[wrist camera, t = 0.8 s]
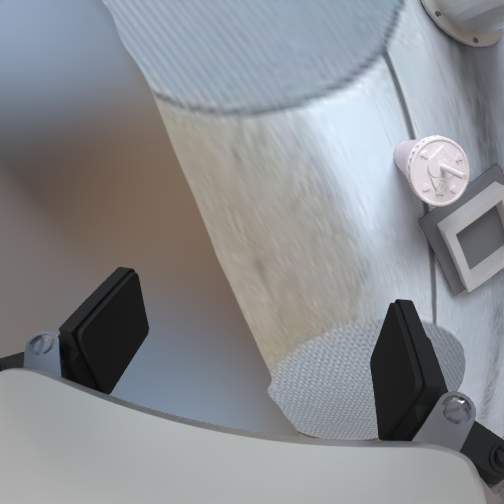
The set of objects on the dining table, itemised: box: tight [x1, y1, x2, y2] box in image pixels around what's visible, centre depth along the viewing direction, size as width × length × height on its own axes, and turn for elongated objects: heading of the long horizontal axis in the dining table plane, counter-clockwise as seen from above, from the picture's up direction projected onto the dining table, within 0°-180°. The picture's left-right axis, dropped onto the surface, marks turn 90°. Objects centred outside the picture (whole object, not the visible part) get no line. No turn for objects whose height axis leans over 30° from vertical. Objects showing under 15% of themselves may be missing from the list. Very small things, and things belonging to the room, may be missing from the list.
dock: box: [418, 164, 504, 296], centre depth 31 cm, size 14×13×4 cm
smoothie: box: [394, 136, 470, 207], centre depth 24 cm, size 6×6×14 cm
